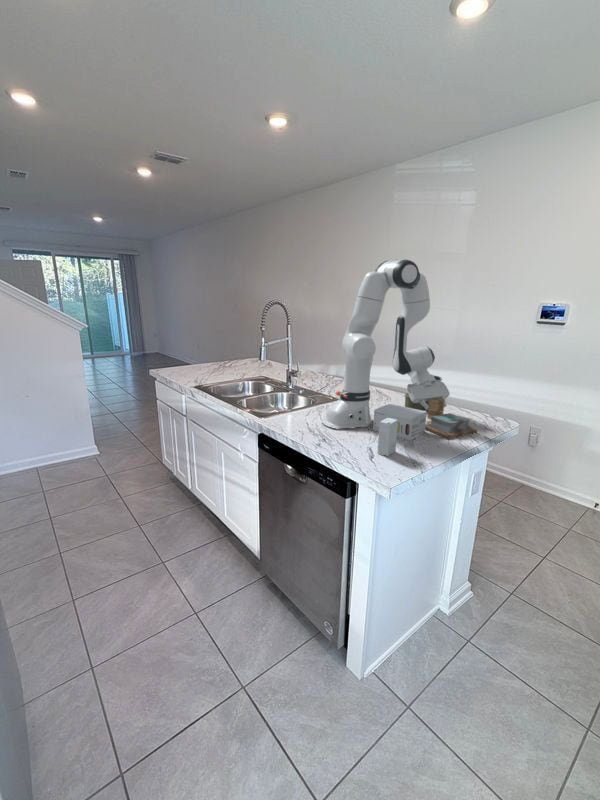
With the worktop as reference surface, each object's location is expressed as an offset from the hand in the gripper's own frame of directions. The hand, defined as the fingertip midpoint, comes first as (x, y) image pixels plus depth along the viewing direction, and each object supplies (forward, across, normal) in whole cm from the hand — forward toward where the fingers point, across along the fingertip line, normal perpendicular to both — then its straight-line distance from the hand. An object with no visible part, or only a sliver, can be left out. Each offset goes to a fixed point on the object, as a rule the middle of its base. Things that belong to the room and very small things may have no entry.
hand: (436, 408), depth 164 cm
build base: (+14, -6, -6) cm, 16 cm away
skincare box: (+19, -43, -12) cm, 49 cm away
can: (-8, +4, +16) cm, 18 cm away
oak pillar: (+4, 0, +4) cm, 5 cm away
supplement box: (+8, -25, 0) cm, 26 cm away
